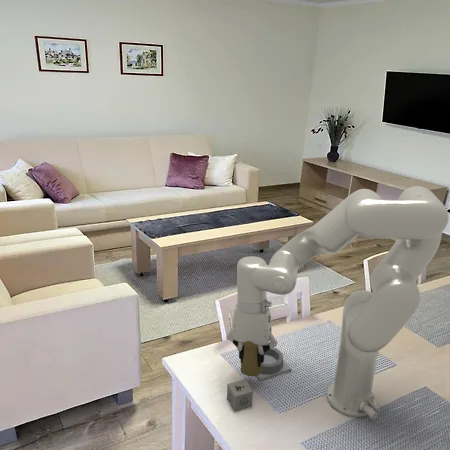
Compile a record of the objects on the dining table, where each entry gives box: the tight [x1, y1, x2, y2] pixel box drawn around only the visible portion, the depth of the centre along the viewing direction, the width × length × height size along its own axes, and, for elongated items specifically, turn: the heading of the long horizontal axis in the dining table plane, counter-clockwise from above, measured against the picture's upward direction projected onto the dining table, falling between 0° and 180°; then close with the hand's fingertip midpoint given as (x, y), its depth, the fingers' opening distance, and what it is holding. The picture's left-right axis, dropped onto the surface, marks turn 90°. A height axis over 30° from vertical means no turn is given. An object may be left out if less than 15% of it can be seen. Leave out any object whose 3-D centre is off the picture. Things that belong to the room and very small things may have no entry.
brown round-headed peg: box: [240, 341, 262, 377], centre depth 116 cm, size 6×6×11 cm
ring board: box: [239, 347, 293, 383], centre depth 126 cm, size 11×11×4 cm
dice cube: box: [226, 379, 254, 413], centre depth 112 cm, size 5×5×5 cm
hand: (251, 361), depth 117 cm, fingers closed on brown round-headed peg, 4 cm apart
